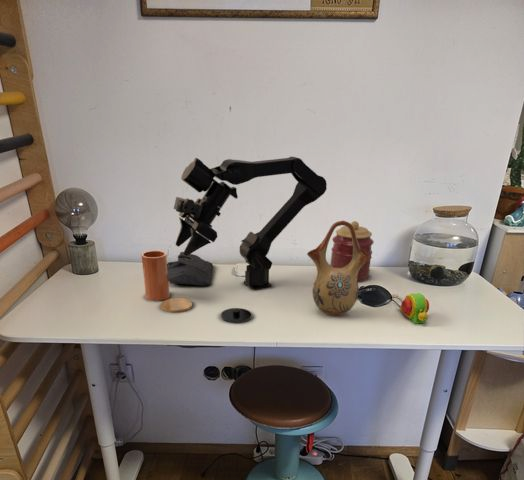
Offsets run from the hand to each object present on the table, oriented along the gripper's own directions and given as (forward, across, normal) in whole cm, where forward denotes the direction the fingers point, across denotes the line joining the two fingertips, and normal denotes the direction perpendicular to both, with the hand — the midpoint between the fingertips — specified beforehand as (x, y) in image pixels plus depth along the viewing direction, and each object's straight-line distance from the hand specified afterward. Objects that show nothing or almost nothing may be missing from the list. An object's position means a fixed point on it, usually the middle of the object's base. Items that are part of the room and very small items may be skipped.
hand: (180, 250), depth 130 cm
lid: (+5, +20, +15) cm, 25 cm away
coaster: (+13, +8, +5) cm, 16 cm away
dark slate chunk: (+7, -15, +12) cm, 21 cm away
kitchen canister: (-23, +2, +52) cm, 57 cm away
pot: (+15, -1, +2) cm, 15 cm away
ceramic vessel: (-10, +26, +36) cm, 46 cm away
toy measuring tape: (-23, +32, +52) cm, 65 cm away
